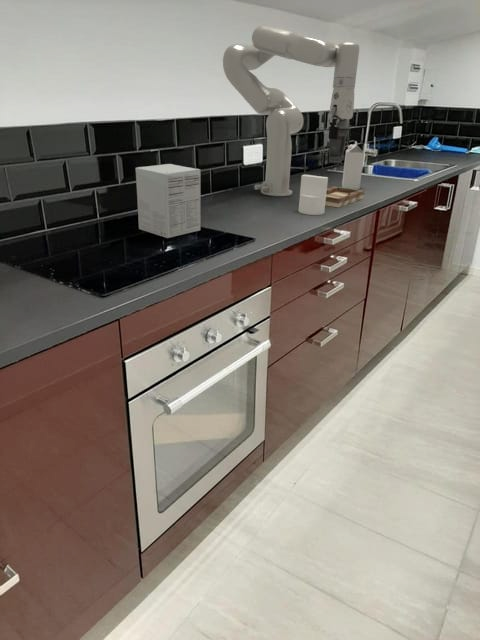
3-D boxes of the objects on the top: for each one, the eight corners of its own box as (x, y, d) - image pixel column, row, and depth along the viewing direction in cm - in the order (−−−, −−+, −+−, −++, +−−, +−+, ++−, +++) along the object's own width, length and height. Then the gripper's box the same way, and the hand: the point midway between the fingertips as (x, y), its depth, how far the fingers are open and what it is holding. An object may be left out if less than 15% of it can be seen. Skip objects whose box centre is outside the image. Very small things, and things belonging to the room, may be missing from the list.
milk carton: (357, 186, 219) (363, 141, 211) (359, 189, 212) (365, 143, 204) (341, 185, 219) (347, 140, 211) (342, 188, 213) (348, 142, 205)
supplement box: (201, 230, 145) (202, 169, 137) (167, 239, 136) (165, 173, 128) (172, 221, 152) (170, 163, 145) (137, 229, 143) (134, 167, 136)
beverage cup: (330, 163, 176) (337, 102, 168) (322, 160, 183) (328, 101, 174) (348, 163, 178) (356, 103, 170) (339, 160, 185) (346, 102, 176)
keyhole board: (338, 207, 179) (339, 198, 177) (307, 202, 185) (308, 193, 184) (363, 198, 195) (364, 190, 193) (333, 193, 202) (334, 185, 200)
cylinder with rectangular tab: (328, 211, 173) (332, 176, 167) (318, 216, 166) (322, 179, 160) (304, 207, 177) (307, 173, 171) (294, 212, 170) (297, 176, 164)
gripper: (343, 83, 161) (336, 140, 169) (364, 84, 174) (357, 137, 181) (322, 82, 165) (317, 138, 172) (345, 84, 178) (339, 136, 185)
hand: (337, 137), depth 177 cm, fingers closed on beverage cup, 7 cm apart
